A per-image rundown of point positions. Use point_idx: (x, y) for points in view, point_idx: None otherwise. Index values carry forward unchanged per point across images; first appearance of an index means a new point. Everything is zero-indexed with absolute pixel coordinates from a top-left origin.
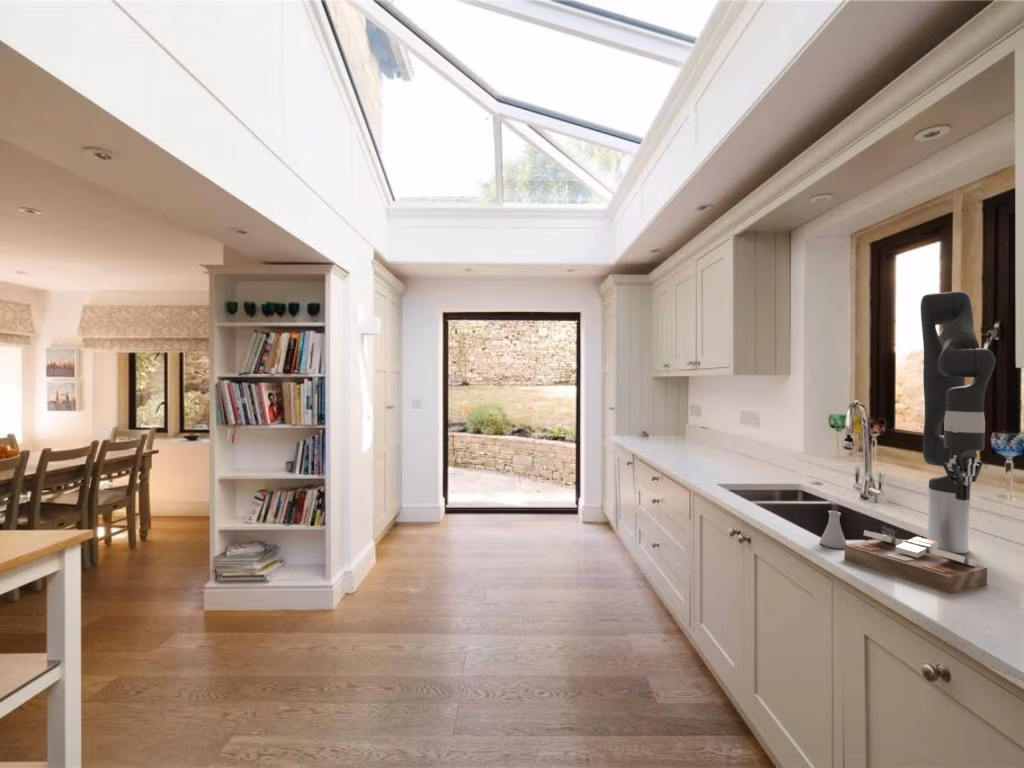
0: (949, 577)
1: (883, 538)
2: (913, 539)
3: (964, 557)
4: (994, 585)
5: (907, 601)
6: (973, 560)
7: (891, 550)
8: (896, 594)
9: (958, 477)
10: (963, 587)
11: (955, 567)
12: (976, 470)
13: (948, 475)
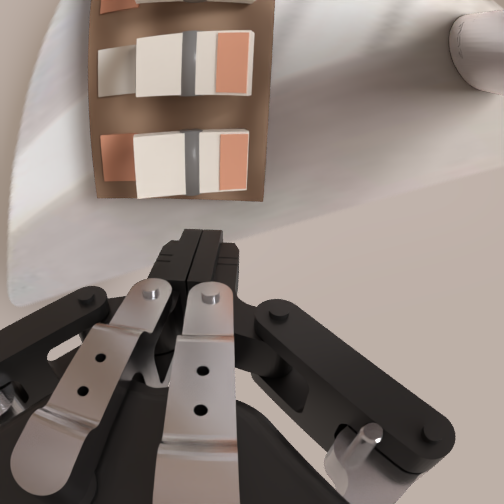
0: (97, 196)
1: (136, 2)
2: (218, 38)
3: (180, 194)
4: (271, 196)
5: (20, 178)
6: (230, 190)
7: (166, 18)
8: (26, 152)
9: (54, 366)
10: None
11: None
12: (308, 433)
13: (28, 322)
